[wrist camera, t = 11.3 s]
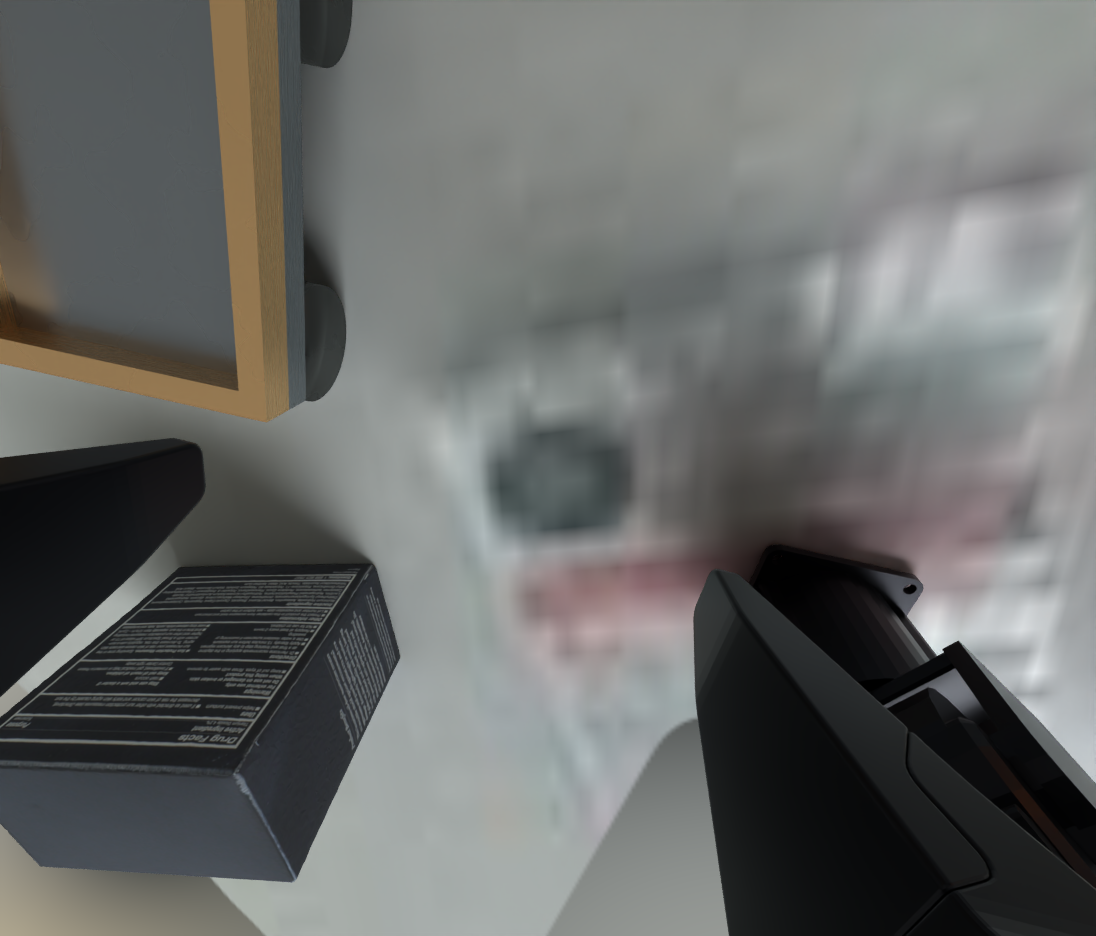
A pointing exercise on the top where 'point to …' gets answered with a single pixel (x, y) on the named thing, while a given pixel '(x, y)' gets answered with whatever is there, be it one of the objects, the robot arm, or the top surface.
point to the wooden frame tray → (164, 198)
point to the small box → (202, 725)
